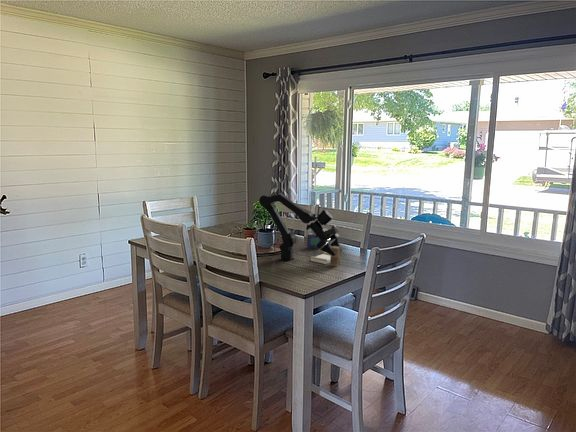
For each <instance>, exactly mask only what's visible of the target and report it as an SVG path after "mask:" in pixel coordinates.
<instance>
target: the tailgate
mask: <svg viewBox="0 0 576 432" xmlns="http://www.w3.org/2000/svg"><path fill="white" fill-rule="evenodd" d="M330 257H331V254H329V253H326V252H324V251H322V253H321V254H318V255H314V256H310V258H309V259H310V262H313V263H314V262H315V263H320V264H324V265H327V264H330Z"/></svg>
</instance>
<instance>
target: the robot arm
mask: <svg viewBox="0 0 576 432" xmlns="http://www.w3.org/2000/svg"><path fill="white" fill-rule="evenodd" d="M258 202H259V204H260V206H262V208H263V209H264V210H266V211H267V213H268V214H269V215H270V217H271V219H272V221H273V223H274V224H275V226H276V228H277V230H278V231H279V233H280V235H281V236H280V237H281V240H282V243H281V244H280V245H279V250H280V257H279V258H278V260H280V261H284V262H289V261H292V260H295V258H294V257H293V247H294V245H295V244H296V243H297V235H296V233H294V230H292V231H290V230H289V229H288V227H287V226H286V223H285V222H284V220H283V218H282V217H281V215H280V213H279V211H278V209H277V208H276V205H275V203H276V202H279V203H280V204H282V206H284V207H286V208H287V209H289V210H290V211H292V212H293V213H294V214H295V215H296V216H297V218H298V219H299V220H300V221H301V222H302V223H303V224H306V229H305V230H307V231H308V230H311V231H312V232H313V233H315V235H316V236H315V237H316V238H317V237H318V238H319V239H320V242H319V243H318V244H317V245H316V248H317V249H316V250H319V251H322V252H326V253H329V254H331V255H333V256H335V253H334V252H333V250H332V249H331V247H332V246H339V247H341V245H340V242H339V239H340V235H339V234H338V233H339V227H338V226H336V225H333V226H331V228H329V229H328V228H326V227H324V226H327V224H329V223H330V222H331V221H332V220H333V219H334V216H333V214H332V213H331V212H329V211H328V210H326V208H325V209H323V210H322V211H321V212H320V213H319V214H315V213H314V212H312V211H310V210H308V209H306V208H303V207H301V206H300V205H298V204H297V203H295V202H294V201H293V200H291V199H290V198H288V196H286V195H285V194H284V193H278V194H270V193H266V194H263V195H261V196H260V197H259V201H258ZM341 252H342V249H341Z"/></svg>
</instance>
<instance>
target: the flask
mask: <svg viewBox="0 0 576 432" xmlns="http://www.w3.org/2000/svg"><path fill="white" fill-rule="evenodd" d="M315 236H316V235H315V233H314V232H313V233H311V232H310V233H308V234H307V237H306V238H307V239H306V240H307V245H306V247H307V249H308V250H310V249H311V250H318V249H317V248H316V245H317V244H318V243H319V242H320V239H319V238H318V237H317V238H316V237H315Z"/></svg>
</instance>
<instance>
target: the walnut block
mask: <svg viewBox="0 0 576 432" xmlns="http://www.w3.org/2000/svg"><path fill="white" fill-rule="evenodd" d="M330 247H331V249H332V250H333V252H334V253H335V256H333V255H331V257H330V263H329V264H330V267H337V268H338V267H339V266H340V265H341V252H342V251H341V250H342V246H340V247H339V246H330Z"/></svg>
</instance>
